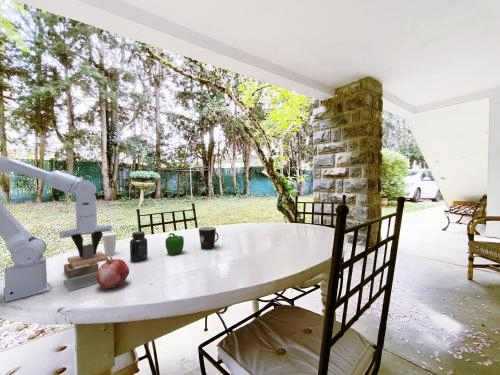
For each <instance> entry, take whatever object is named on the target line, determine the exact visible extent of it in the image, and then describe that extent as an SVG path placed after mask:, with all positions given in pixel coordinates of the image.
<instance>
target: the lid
mask: <svg viewBox="0 0 500 375" xmlns="http://www.w3.org/2000/svg"><path fill="white" fill-rule="evenodd" d="M107 259H109V257H108V256H106V255H105V253H103V252H102V251H96V254H95V255H94V246H93V245H92V243H91V244H84V245H83V257H80V256H79V255H75V256H70V257H67V261H68V264H71V266H72V267H73V268H74V267H79V266H83V265H88V264H92V263H100V262H106V261H107Z"/></svg>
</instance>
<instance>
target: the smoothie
mask: <svg viewBox="0 0 500 375" xmlns="http://www.w3.org/2000/svg"><path fill="white" fill-rule="evenodd" d="M117 236H118V233H117V232H112V231H109V232H107V233H103V236H102V238H101V239H102V243H103V250H104V255H106V256H107V257H108V256H109V257H110V256H111V257H112V256H114V255H115V252H116V247H117V246H116V244H117Z"/></svg>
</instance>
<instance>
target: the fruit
mask: <svg viewBox="0 0 500 375" xmlns="http://www.w3.org/2000/svg"><path fill="white" fill-rule="evenodd" d="M109 258H110V259H109ZM109 258H108V259H107V260H106V261H105V262H104V263H103V264H101V265H100V266H99V269H98V271H97V274H96V279H97V281H98V285H99V287H100V288H102V289H113V288H115V287H119V286H121V285H123V284H124V283H125V281H126V280H127V278H128V276H129V274H130V267H129V266H128V264H126V262H125V261H124V260H123V259H120V258H119V259H118V258H115V259H113V257H112V255H111V256H109Z"/></svg>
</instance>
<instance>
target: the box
mask: <svg viewBox="0 0 500 375" xmlns="http://www.w3.org/2000/svg"><path fill="white" fill-rule="evenodd" d="M99 268H100V266H99V262H97V263H92V264H88V265H83V266H79V267H74V268H73V267H72V266H71V264H70V263H66V264H63V273H64V275H65V276H66V278H67V279H70V278H75V277H79V276H83V275H87V274H91V273H95V272H97V271H98V269H99Z"/></svg>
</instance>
